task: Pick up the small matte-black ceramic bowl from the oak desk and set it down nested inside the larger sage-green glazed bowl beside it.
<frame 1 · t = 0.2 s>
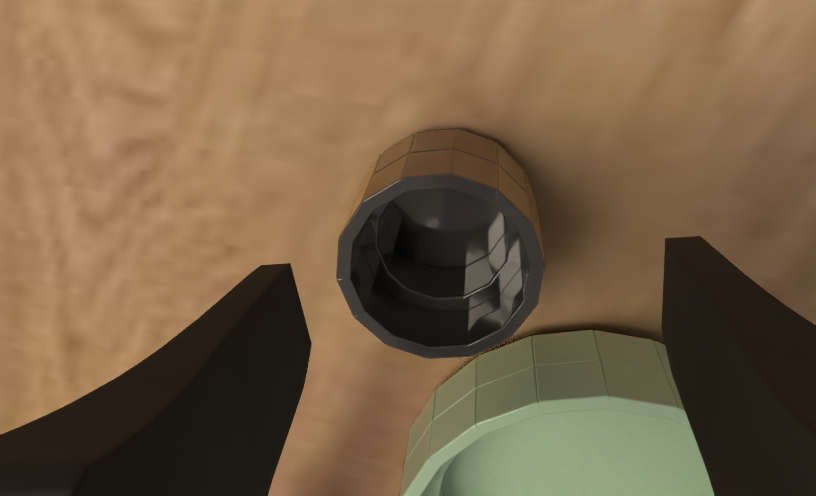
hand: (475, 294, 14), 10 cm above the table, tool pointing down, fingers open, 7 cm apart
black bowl: (446, 209, 24), on the table
sage bowl: (576, 469, 28), on the table
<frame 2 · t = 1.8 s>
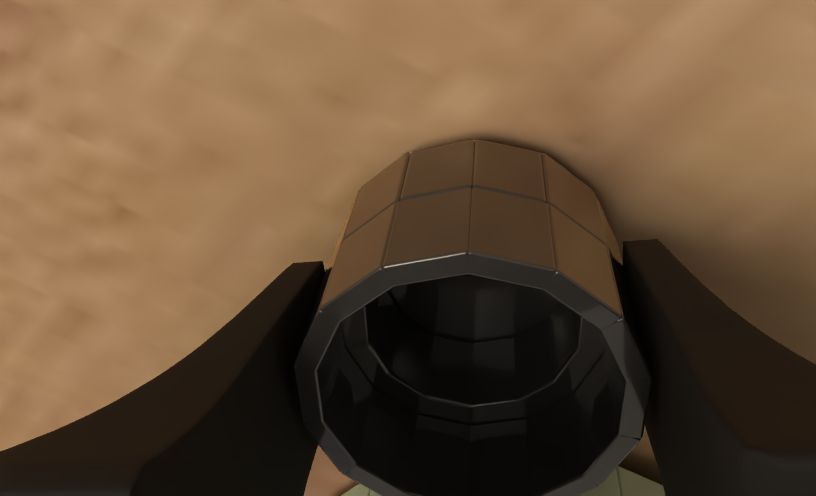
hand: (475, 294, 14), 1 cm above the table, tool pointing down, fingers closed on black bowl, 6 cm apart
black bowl: (474, 255, 16), on the table, touching gripper
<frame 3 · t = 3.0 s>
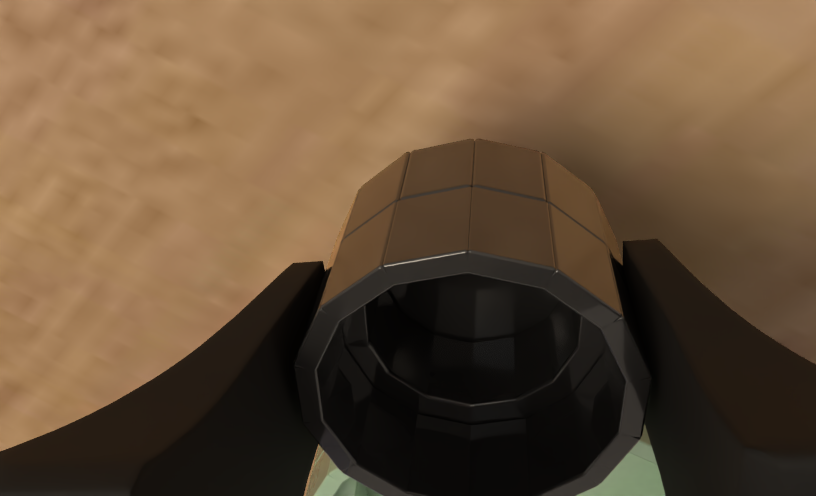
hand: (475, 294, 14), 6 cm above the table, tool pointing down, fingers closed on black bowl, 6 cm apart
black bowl: (474, 255, 16), point 5 cm above the table, touching gripper
sage bowl: (512, 466, 26), on the table
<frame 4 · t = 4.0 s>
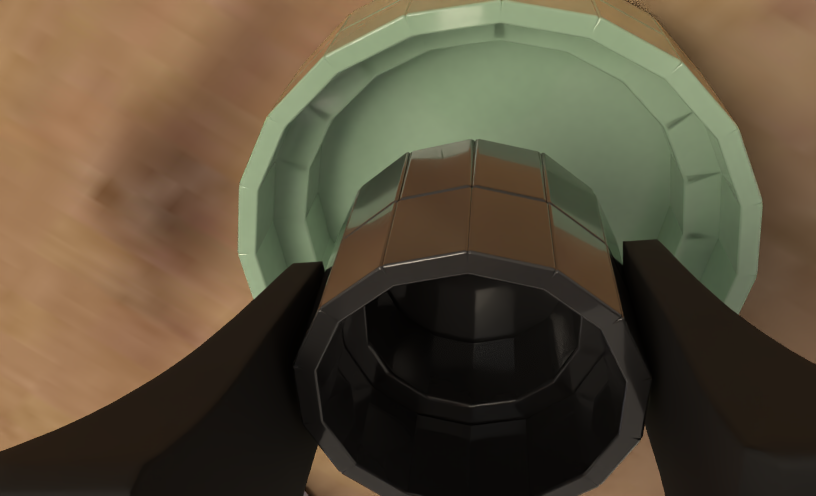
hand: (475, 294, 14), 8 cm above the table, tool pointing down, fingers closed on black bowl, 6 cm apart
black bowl: (474, 255, 16), point 7 cm above the table, touching gripper
sage bowl: (490, 188, 23), on the table
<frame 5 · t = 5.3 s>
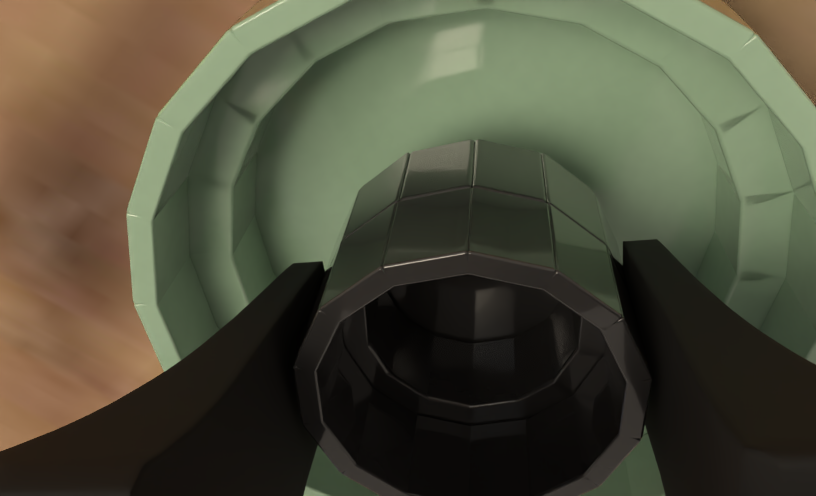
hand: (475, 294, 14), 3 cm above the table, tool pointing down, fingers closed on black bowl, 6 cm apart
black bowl: (474, 256, 16), point 2 cm above the table, touching gripper
sage bowl: (478, 209, 17), on the table
when the fingers open (2 cm above the table, at t = 6.3 s): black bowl stays where it is, resting on sage bowl.
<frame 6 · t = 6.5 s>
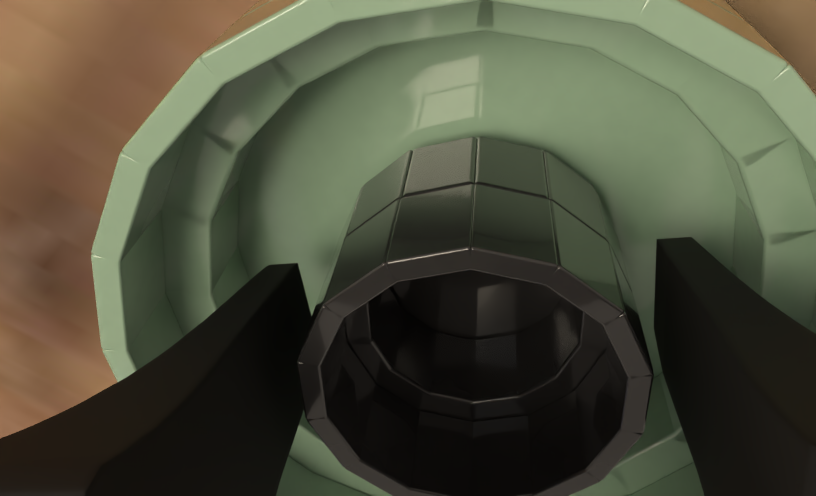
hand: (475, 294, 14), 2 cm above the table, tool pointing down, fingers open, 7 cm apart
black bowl: (477, 252, 16), resting on sage bowl
sage bowl: (478, 240, 16), on the table
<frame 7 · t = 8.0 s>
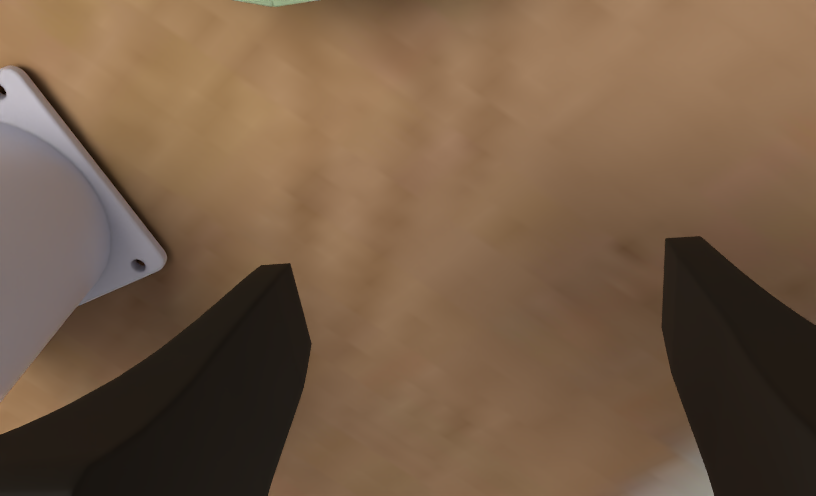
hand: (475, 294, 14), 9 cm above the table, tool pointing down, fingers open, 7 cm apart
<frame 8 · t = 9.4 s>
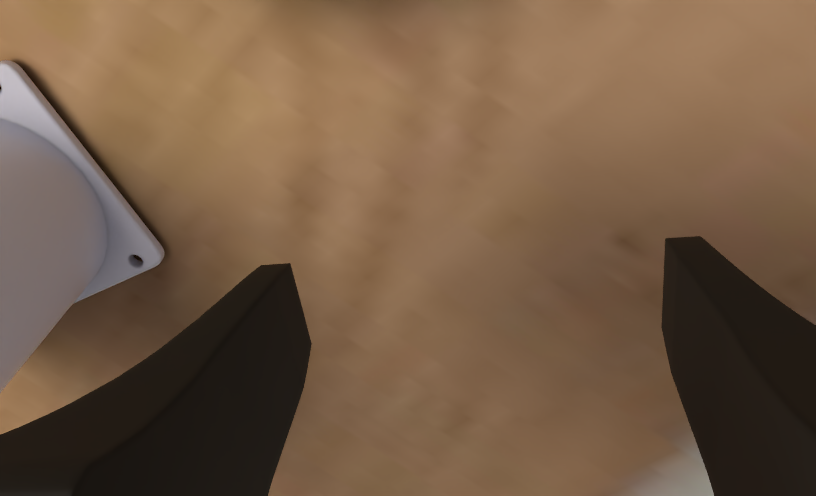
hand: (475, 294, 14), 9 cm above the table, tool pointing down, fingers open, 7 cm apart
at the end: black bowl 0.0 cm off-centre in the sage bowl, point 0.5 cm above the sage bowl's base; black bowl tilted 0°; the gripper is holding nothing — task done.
